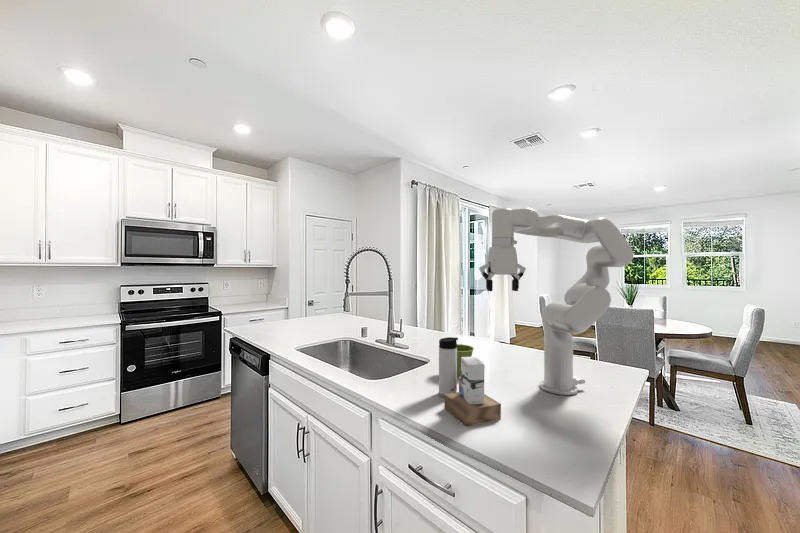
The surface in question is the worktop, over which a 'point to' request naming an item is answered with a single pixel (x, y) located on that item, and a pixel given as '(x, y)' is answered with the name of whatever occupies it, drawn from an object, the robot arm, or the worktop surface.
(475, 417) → the walnut block
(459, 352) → the plant pot
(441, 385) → the travel mug
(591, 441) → the worktop surface
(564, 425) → the worktop surface
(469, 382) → the ink box
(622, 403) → the worktop surface
